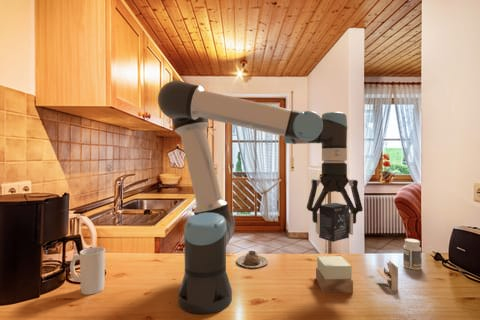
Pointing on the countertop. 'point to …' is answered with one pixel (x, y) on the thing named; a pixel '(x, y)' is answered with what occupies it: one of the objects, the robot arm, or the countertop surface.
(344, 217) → the box
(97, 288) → the mug
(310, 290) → the countertop surface
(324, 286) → the tower base
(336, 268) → the tower top
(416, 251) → the pill bottle
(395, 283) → the architectural model
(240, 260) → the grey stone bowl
